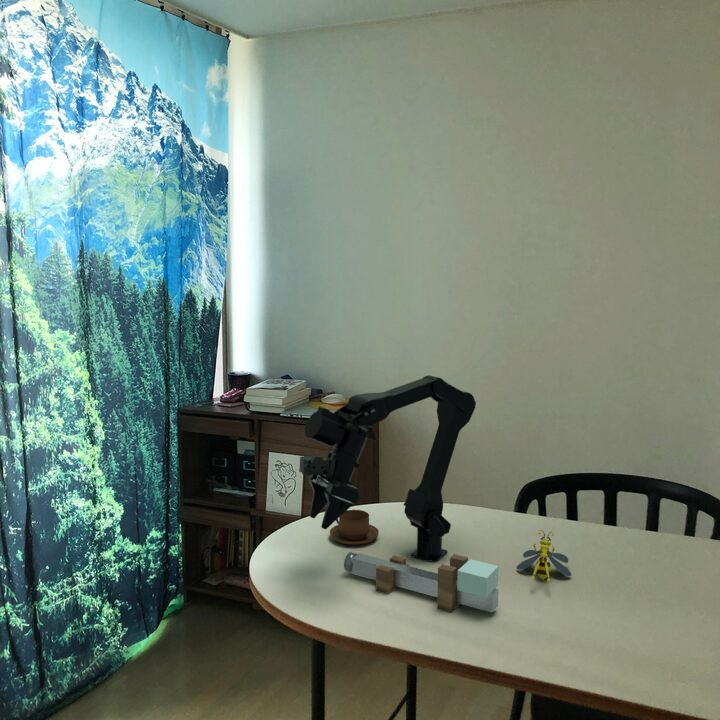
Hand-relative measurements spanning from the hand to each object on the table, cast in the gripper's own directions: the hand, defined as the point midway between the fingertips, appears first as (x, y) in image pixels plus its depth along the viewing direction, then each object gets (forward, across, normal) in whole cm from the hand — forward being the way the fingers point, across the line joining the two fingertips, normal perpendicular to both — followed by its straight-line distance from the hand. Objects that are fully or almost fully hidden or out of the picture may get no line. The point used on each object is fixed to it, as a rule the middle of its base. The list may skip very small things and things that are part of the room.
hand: (317, 522), depth 147 cm
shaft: (+5, +8, +23) cm, 25 cm away
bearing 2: (+4, +14, +28) cm, 31 cm away
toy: (-7, +11, +49) cm, 50 cm away
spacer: (-2, +19, +29) cm, 35 cm away
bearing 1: (+6, +3, +19) cm, 21 cm away
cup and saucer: (+4, -23, +19) cm, 30 cm away
